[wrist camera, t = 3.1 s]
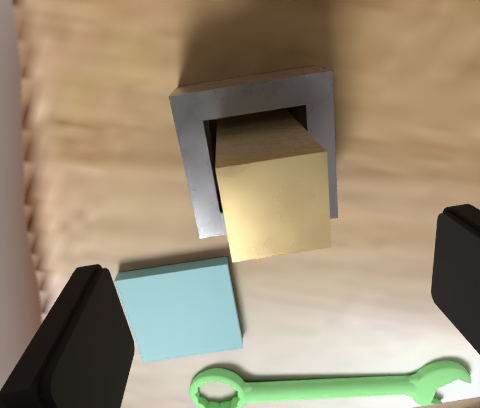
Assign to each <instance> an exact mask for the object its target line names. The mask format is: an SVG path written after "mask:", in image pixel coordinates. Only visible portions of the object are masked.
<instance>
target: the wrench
mask: <svg viewBox="0 0 480 408" xmlns="http://www.w3.org/2000/svg"><path fill="white" fill-rule="evenodd" d="M457 379H460V380H462V381H465V382H468V383H471V377H470V374H469V373H468V372H467V370H466V369H465V368H464V366H462V365H461V364H460V363H457V362H455V361H449V360H443V361H437V362H433V363H430V364H427V365H426V366H424V367H422V368H421V369H419V370H418V371H417V372H416V373H415V374H413V375H399V376H375V377H354V378H333V379H312V380H291V381H270V382H249V383H246V382H244V381H243V379H242V378H241V377H240V376H238V375H237V374H236V373H234V372H232V371H230V370H227V369H223V368H211V369H207V370H205V371H203V372H201V373H199V374H198V375H197V376H196V377H195V378H194V379H193V380H192V383H191V386H190V397H191V399H192V401H193V402H194V403H195V404H196V405H197V406H198V407H199V408H242V407H243V406H244V405H246V404H248V403H251V402H267V401H286V400H305V399H325V398H344V397H363V396H382V395H401V394H404V395H407V396H410V397H412V398H413V399H414V401H415V402H416V403H417V404H419V405H421V406H427V405H433V404H439V403H442V402H441V401H440V400H438V399H436V398H434V395H435V392H436V390H437V388H439V387H441V386H444V385H446V384H449V383H451V382H453V381H455V380H457ZM216 381H219V382H220V383H222V384H229V385H230V386H231V387H232V389H234V390H236V391H238V396H237V397H233V398H232V400H231V401H223V402H221V403H217V402H214V401H213V402H208V401H207V400H206V399H205V398H203V397H200V392H199V391H198V388H199V386H203V385H204V384H205V382H211V383H213V382H216Z"/></svg>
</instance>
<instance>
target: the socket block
mask: <svg viewBox="0 0 480 408" xmlns="http://www.w3.org/2000/svg"><path fill="white" fill-rule="evenodd" d="M169 99H170V104H171V109H172V113H173V118H174V122H175V127H176V131H177V136H178V140H179V145H180V150H181V154H182V159H183V163H184V168H185V172H186V177H187V181H188V186H189V191H190V195H191V200H192V204H193V209H194V213H195V218H196V222H197V227H198V232H199V236H200V238H207V237H213V236H220V235H226V234H227V230H226V225H225V219H224V214H223V208H222V203H221V197H220V192H219V186H218V181H217V175H216V170H215V156H214V151H213V145H212V140H211V134H210V129H209V123H208V120H211V119H217V118H223V117H230V116H236V115H243V114H249V113H255V112H262V111H268V110H275V109H281V108H287V107H292V108H293V117H294V118H295V119H296V120H297V121H298V122H299V123H300V124H301V125H302V126H303V127H304V128H305V129H306V130H307V131H308V132H309V133H310V134H311V135H312V136H313V137H314V138H315V140H316V141H317V142H318V143H319V144H320V145H321V146H322V147H323V148H324V149H325V150H326V151H327V162H328V185H329V207H330V219H332V218H338V207H337V178H336V149H335V120H334V90H333V71H332V70H328V69H325V68H321V67H317V66H308V67H301V68H295V69H289V70H282V71H276V72H270V73H263V74H257V75H250V76H244V77H238V78H231V79H225V80H219V81H212V82H206V83H200V84H193V85H187V86H181V87H177V88H176V89H175V90H174V91H173V92H172V94H171V95H170V96H169Z"/></svg>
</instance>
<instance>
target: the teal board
mask: <svg viewBox="0 0 480 408" xmlns="http://www.w3.org/2000/svg"><path fill="white" fill-rule="evenodd" d="M114 282H115V284H116V287H117V290H118V293H119V296H120V299H121V301H122V304H123V307H124V310H125V313H126V315H127V318H128V321H129V324H130V327H131V330H132V332H133V335H134V338H135V341H136V344H137V346H138V349H139V352H140V355H141V358H142V361H143V363H147V362H154V361H160V360H167V359H174V358H181V357H188V356H194V355H201V354H208V353H215V352H222V351H228V350H235V349H242V348H243V340H242V334H241V329H240V323H239V318H238V313H237V307H236V302H235V297H234V291H233V286H232V281H231V275H230V270H229V265H228V259H227V257H220V258H213V259H207V260H200V261H193V262H187V263H180V264H173V265H167V266H160V267H154V268H147V269H140V270H134V271H127V272H120V273H118V274H117V276H116V279H115V281H114Z"/></svg>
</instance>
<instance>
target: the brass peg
mask: <svg viewBox="0 0 480 408" xmlns="http://www.w3.org/2000/svg"><path fill="white" fill-rule="evenodd" d="M215 170H216V175H217V181H218V186H219V192H220V197H221V203H222V208H223V214H224V219H225V225H226V230H227V236H228V241H229V247H230V252H231V258H232V262H238V261H244V260H251V259H257V258H264V257H271V256H277V255H284V254H291V253H297V252H304V251H311V250H317V249H324V248H331V230H330V207H329V185H328V162H327V151H326V150H325V149H324V148H323V147H322V146H321V145H320V144H319V143H318V142H317V141H316V140H315V138H314V137H313V136H312V135H311V134H310V133H309V132H308V131H307V130H306V129H305V128H304V127H303V126H302V125H301V124H300V123H299V122H298V121H297V120H296V119H295V118H294V117H293V116H292V115H291V114H290V113H289V112H288V111H287V110H286V109H285V108H281V109H275V110H268V111H262V112H255V113H249V114H243V115H236V116H230V117H223V118H217V135H216V162H215Z"/></svg>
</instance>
